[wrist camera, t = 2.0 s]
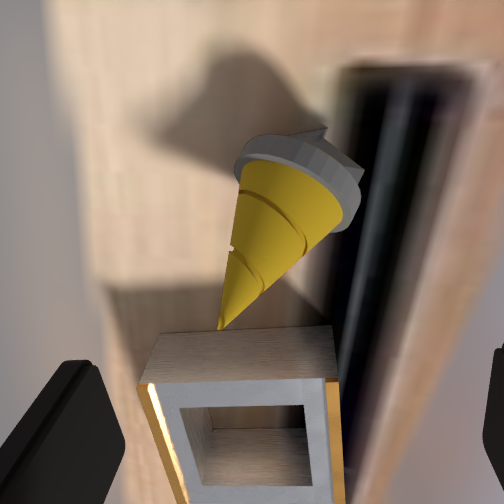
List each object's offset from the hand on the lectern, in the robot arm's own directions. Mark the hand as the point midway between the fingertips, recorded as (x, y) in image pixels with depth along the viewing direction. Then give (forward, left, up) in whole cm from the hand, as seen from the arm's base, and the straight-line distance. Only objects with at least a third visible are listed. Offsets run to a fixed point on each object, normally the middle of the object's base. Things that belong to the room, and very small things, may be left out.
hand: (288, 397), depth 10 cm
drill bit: (-1, 0, -12) cm, 12 cm away
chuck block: (+12, -3, -12) cm, 17 cm away
